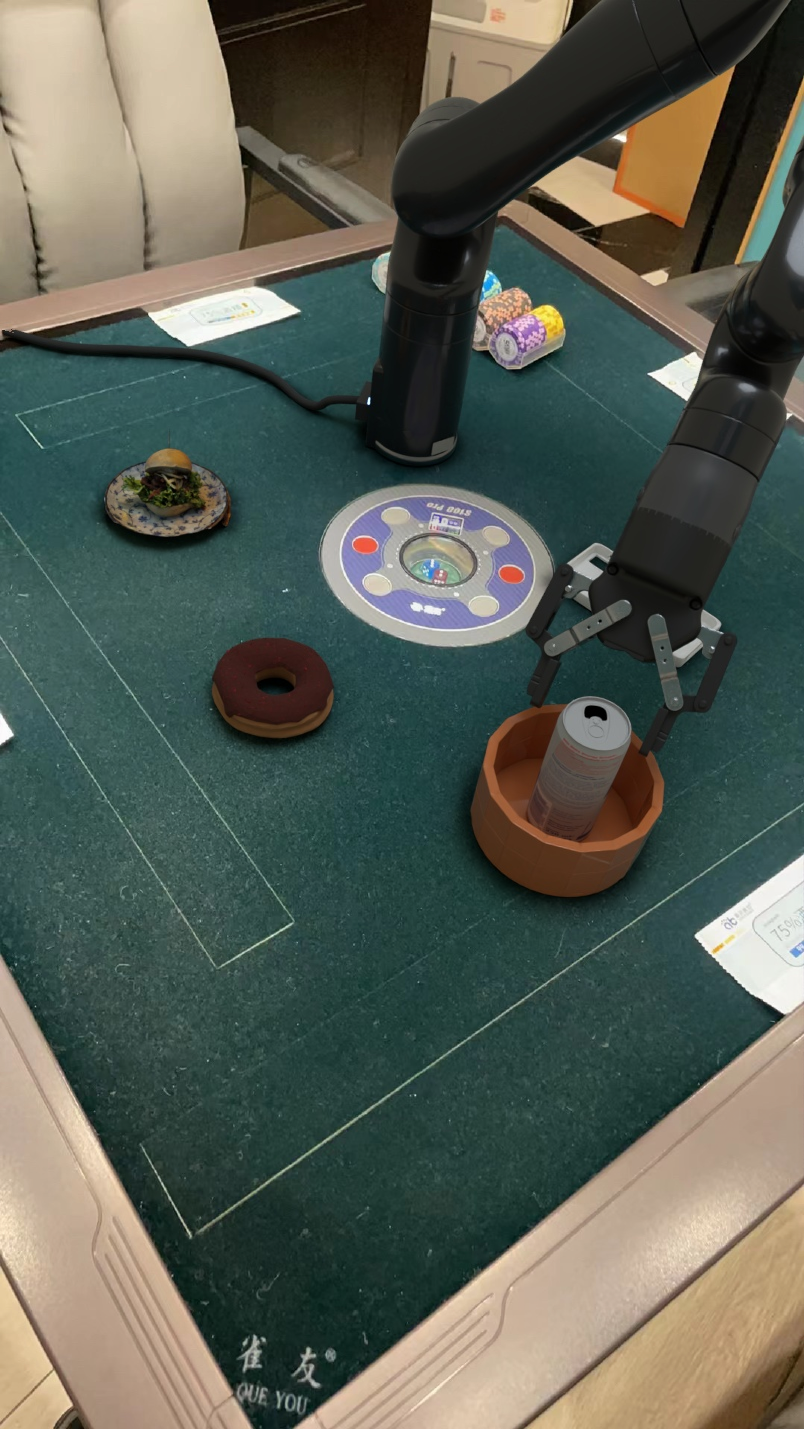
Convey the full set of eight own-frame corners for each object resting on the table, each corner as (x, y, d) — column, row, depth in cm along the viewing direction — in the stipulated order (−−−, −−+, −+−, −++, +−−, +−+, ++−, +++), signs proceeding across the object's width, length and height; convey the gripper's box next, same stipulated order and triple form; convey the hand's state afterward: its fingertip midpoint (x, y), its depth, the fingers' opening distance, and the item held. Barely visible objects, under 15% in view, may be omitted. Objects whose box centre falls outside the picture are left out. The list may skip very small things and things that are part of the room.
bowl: (455, 871, 80) (469, 823, 75) (487, 737, 88) (501, 686, 83) (631, 916, 79) (657, 871, 74) (645, 777, 88) (669, 728, 83)
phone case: (549, 583, 102) (677, 670, 96) (552, 573, 100) (681, 660, 95) (594, 550, 105) (719, 632, 100) (597, 540, 104) (724, 622, 99)
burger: (81, 524, 100) (70, 460, 94) (146, 458, 107) (140, 395, 101) (193, 566, 98) (189, 503, 92) (252, 496, 105) (252, 433, 99)
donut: (350, 679, 91) (353, 648, 88) (306, 762, 85) (308, 732, 82) (243, 643, 92) (242, 611, 89) (192, 723, 86) (190, 691, 83)
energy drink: (591, 795, 85) (632, 699, 76) (593, 851, 82) (636, 758, 72) (526, 786, 85) (559, 689, 76) (525, 841, 82) (559, 746, 72)
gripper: (774, 569, 77) (678, 769, 79) (595, 497, 80) (507, 690, 82) (785, 555, 70) (679, 775, 71) (588, 476, 73) (491, 689, 75)
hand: (587, 730), depth 77 cm, fingers open, 8 cm apart
